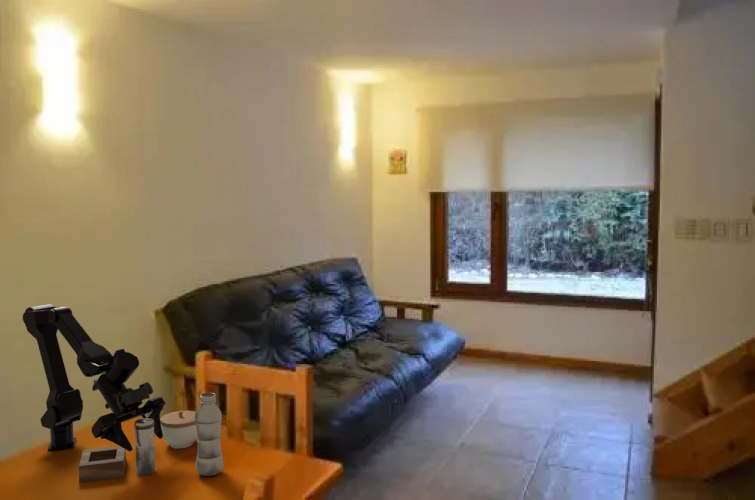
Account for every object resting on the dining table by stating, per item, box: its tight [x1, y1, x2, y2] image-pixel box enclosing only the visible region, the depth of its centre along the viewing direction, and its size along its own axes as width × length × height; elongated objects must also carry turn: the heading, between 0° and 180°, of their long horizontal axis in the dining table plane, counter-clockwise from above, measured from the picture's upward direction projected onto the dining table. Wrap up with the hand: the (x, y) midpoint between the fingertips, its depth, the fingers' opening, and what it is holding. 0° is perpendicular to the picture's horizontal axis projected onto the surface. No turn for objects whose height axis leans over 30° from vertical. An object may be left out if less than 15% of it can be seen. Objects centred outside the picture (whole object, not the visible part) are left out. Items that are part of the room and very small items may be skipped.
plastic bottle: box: [194, 392, 224, 477], centre depth 158 cm, size 6×7×20 cm
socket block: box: [78, 445, 127, 483], centre depth 160 cm, size 10×10×4 cm
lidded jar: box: [160, 410, 198, 450], centre depth 177 cm, size 11×11×9 cm
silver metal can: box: [133, 417, 156, 477], centre depth 159 cm, size 5×5×13 cm
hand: (146, 444), depth 159 cm, fingers open, 9 cm apart
